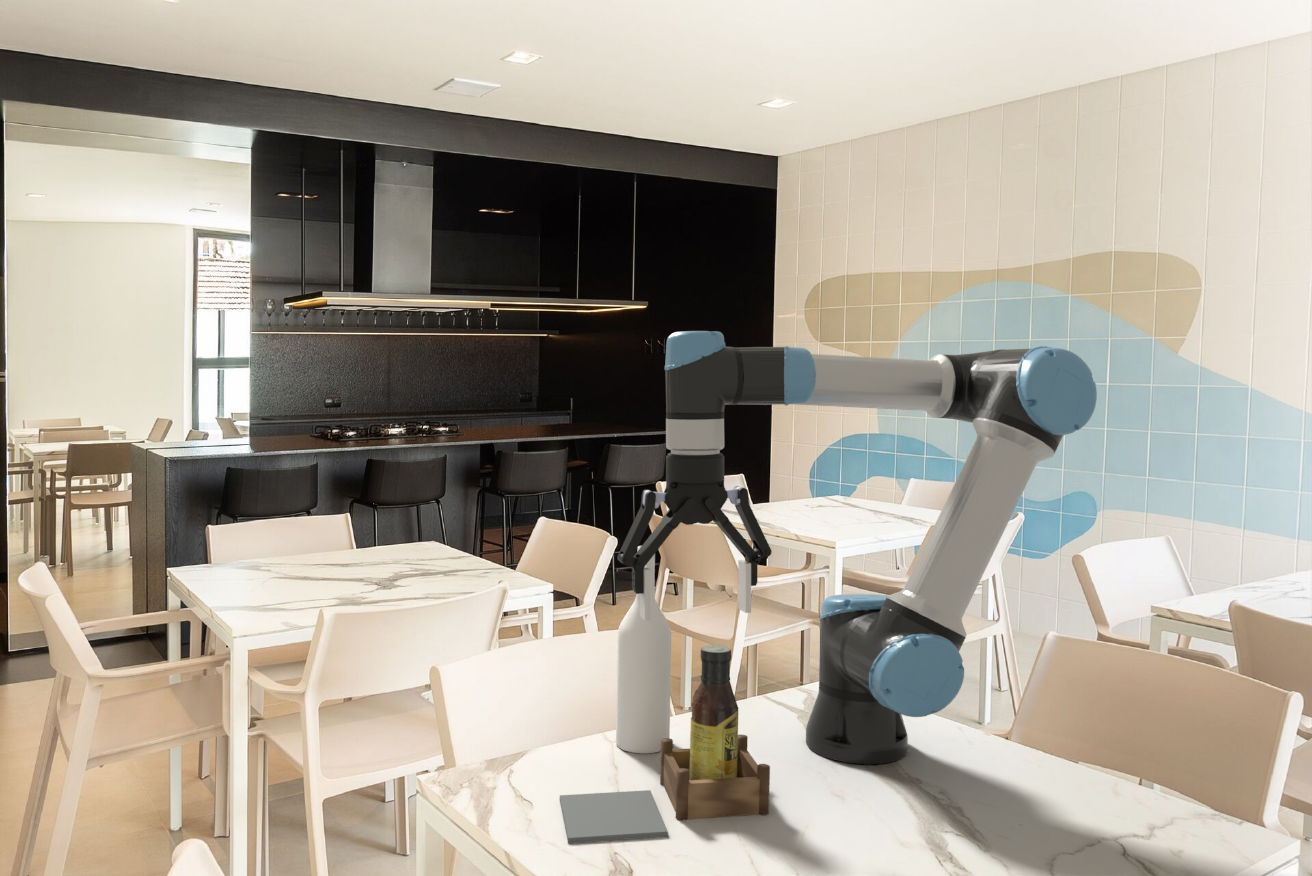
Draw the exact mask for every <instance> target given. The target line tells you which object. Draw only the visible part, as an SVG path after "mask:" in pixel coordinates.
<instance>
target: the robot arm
mask: <svg viewBox="0 0 1312 876" xmlns="http://www.w3.org/2000/svg"><path fill="white" fill-rule="evenodd" d="M665 348H666V349H665V365H664V368H663V369H664V371H665V374H664V375H665V404H666V405H665V406H666V408H665V411H666V412H665V413H666V414H665V442H666V443H665V447H666V449H667V450H670V452H669V453H667V455H665V485H666V486H665V489H664V491H663V492H660V491H652V490H650V489H644V490H643V491H642V493H641V499H640V500H641V501H640V507H639V510H638V511H637V514H636V516H635V518H634V520H633V522H632V524H631V527H630V528H629V530H628V532H627V535H626V537H625V539H624V541H623V544H622V545H621V548H620V549H619V550H620V551H619V552H618V554H617V560H618V561H619V562H620V563H621V564H623V565H624V566H629V567H630V568H631V588H632V591H633V592H634V593H635V595H636V594H640V616H641V617H642V618H643V619H644V620H645V621H648V620H651V570H650V569H649V568H647V567H646V566H645V565H646V564H647V563H648V562H649V560H650V559H651V558H652V556H653V555H654V554H655V555H656V553H657V551H658V550H659V549H660V547H661V546H662V545H663V544H664V542H665V541H666V540H667V539H668V538H669V536H670V535H671V534H672V532H673V531H674V530H675V529H677V527H679V525H680V524H681V523H682V524H683V525H686V526H687V525H689V526H691V525H694V524H698V523H699V524H703V525H709V524H710V523H712V522H713V523H714V524H715V525H716V526H717V527H718V528H719V530H721V532H722V533H723V534H724V535H725V536H726V537H727V539H728V540H729V541H730V542H731V543H732V545H733V546H734V547H735V548H736V549H737V551H739V553H740V554H741V555H742V557H744V559H738V560H737V561H738V563H737V564H738V565H737V567H738V569H737V570H738V573H737V574H738V577H737V578H738V579H737V580H738V583H737V584H738V590H737V592H738V597H737V598H738V599H737V600H738V601H737V602H738V603H737V604H738V607H737V608H738V609H739V610H740V611H741V612H743V613H745V614H751V613H752V587H753V586H755V587H756V586H757V584H758V564H759V563H760V562H761V560H762V559H763V558H769V557H770V556H771V555H772V549H771V547H770V545H769V542H768V540H767V538H766V536H765V535H764V532H763V529H762V528H761V526H760V524H759V522H758V520H757V518H756V516H755V513H754V512H753V509H752V507H751V506H750V498H749V490H748V489H747V488H746V487H742V486H738V485H736V486H734V487H733V488H729V489H726V487H725V456H724V454H723V453H721V452H720V451H721V450H723V449H724V448H725V406H726V405H728V406H736V405H746V406H747V405H749V406H750V405H753V406H755V405H760V406H761V405H763V406H767V405H769V406H770V405H771V406H772V405H784V406H789V405H794V406H795V405H797V406H799V405H800V406H818V407H822V406H823V407H836V408H837V407H838V408H840V407H842V408H859V409H861V408H862V409H878V410H879V409H880V410H882V409H883V410H898V411H899V410H902V411H904V410H905V411H920V412H922V411H923V412H924V411H925V412H926V413H927V415H929V416H930V417H931V418H932V419H933V418H934V419H949V420H956V421H959V422H960V421H961V422H968V423H972V426H973V427H974V428H973V429H974V430H975V432H976V439H975V442H974V443H973V446H972V448H971V449H970V452H969V454H968V456H967V458H966V460H965V461H964V464H963V466H962V468H961V470H960V472H959V474H958V476H957V478H956V481H955V483H954V485H953V486H952V489H951V491H950V493H949V495H948V497H947V499H946V501H945V503H944V505H943V507H942V510H941V512H940V513H939V515H938V518H937V519H936V521H935V524H934V525H933V528H932V530H931V531H930V534H929V536H928V538H927V540H926V542H925V545H924V546H923V548H922V550H921V553H920V554H919V557H918V558H917V560H916V562H915V564H914V567H913V569H912V571H911V573H910V575H909V577H908V579H907V581H906V583H905V585H904V588H903V589H901V590H899V591H898V592H894V593H892V594H888V595H885V594H876V593H874V594H870V593H869V594H868V593H853V594H852V593H848V594H845V593H844V594H833V595H830V596H827V597H825V598H824V600H823V602H822V603H821V609H820V610H821V611H820V616H819V622H820V624H819V625H820V626H819V665H818V666H819V668H818V669H819V670H818V673H819V674H818V675H819V678H818V681H819V682H818V693H817V696H816V699H815V702H814V704H813V707H812V710H811V713H810V715H809V718H808V721H807V723H806V727H805V728H806V729H805V744H806V746H807V747H808V748H809V749H810V750H811V751H812V752H814V753H816V754H818V755H820V756H822V757H825V758H828V759H830V760H835V761H839V762H844V763H851V764H858V765H860V764H861V765H862V764H863V765H877V764H878V765H879V764H887V763H892V762H895V761H898V760H900V759H902V758H904V757H905V756H906V755H907V753H908V742H909V741H908V739H909V737H908V736H909V735H908V732H907V727H906V725H905V722H904V719H903V716H906V717H911V718H922V717H923V718H924V717H927V716H931V715H933V714H937V713H939V712H940V711H942V710H944V709H945V708H946V707H947V706H949V705H950V704H951V703H952V702H953V700H954V699H955V698H956V697H957V695H958V694H959V692H960V690H961V688H962V686H963V683H964V678H965V667H964V665H963V662H964V661H963V658H962V655H961V653H960V651H961V648H962V646H963V644H964V642H965V640H966V638H967V635H968V634H967V632H966V629H965V626H964V624H963V617H964V615H965V614H966V611H967V608H968V607H969V604H970V602H971V601H972V599H973V596H974V595H975V592H976V590H977V589H978V586H979V583H980V581H981V580H982V578H983V576H984V573H985V571H986V569H987V567H988V565H989V563H990V561H991V559H992V556H993V555H994V553H995V551H996V548H997V546H998V544H999V542H1000V540H1001V538H1002V537H1003V534H1004V532H1005V530H1006V527H1008V523H1009V522H1010V520H1011V518H1012V516H1013V514H1014V511H1015V509H1016V507H1017V505H1018V503H1019V501H1020V500H1021V499H1020V498H1021V497H1022V495H1023V493H1024V491H1025V488H1027V487H1026V486H1027V485H1028V482H1029V480H1030V478H1031V476H1032V474H1033V472H1034V470H1035V468H1036V465H1037V464H1038V463H1040V462H1042V461H1044V460H1047V459H1048V460H1049V459H1050V458H1053V457H1054V455H1055V454H1056V452H1057V449H1058V447H1059V445H1060V443H1061V441H1062V439H1063V437H1064V436H1065V435H1070V434H1073V433H1074V432H1076V431H1079V430H1081V429H1082V428H1083V427H1084V426H1085V425H1087V424H1088V422H1089V421H1090V420H1091V418H1092V416H1093V414H1094V412H1095V409H1096V405H1097V404H1096V403H1097V400H1098V399H1097V397H1098V396H1097V395H1098V392H1097V391H1098V390H1097V386H1096V385H1097V384H1096V382H1095V381H1094V378H1093V372H1092V370H1091V368H1090V367H1089V366H1088V364H1087V363H1086V362H1085V361H1084V360H1083V359H1082V358H1081V357H1080V356H1079V355H1077V354H1075V353H1074V352H1073V351H1071V350H1067V349H1066V348H1065V349H1064V348H1059V347H1050V346H1043V345H1041V346H1037V347H1036V346H1035V347H1033V348H1014V349H995V350H988V351H981V352H973V353H964V354H963V353H962V354H943V353H942V354H940V353H939V354H935V355H933V356H932V357H931V358H930V359H928V360H927V359H925V360H923V359H912V358H911V359H907V358H906V359H905V358H892V357H890V358H888V357H874V356H858V355H857V356H856V355H855V356H854V355H853V356H852V355H840V354H839V355H837V354H821V353H819V354H818V353H811V352H810V351H809V350H808V349H807V348H805V347H794V346H793V347H792V346H788V345H786V346H751V347H749V346H748V347H747V346H746V347H735V346H727V345H726V342H725V337H724V334H723V333H722V332H721V331H717V330H715V331H709V330H687V331H686V330H685V331H683V330H682V331H675V332H673V333H671V334H670V335H669V336H667V339H666V345H665ZM728 500H729V501H730V504H732V505H734V507H735V510H736V512H737V514H738V515H739V518H740V520H741V522H742V524H743V525H744V528H745V530H746V532H747V534H748V537H749V539H750V540H751V543H752V544H753V546H754V548H753V547H752V546H751V545H750V543H749V542H748V541H747V539H746V538H745V537H743V535H742V534H741V533H740V531H739V530H738V529H737V527H735V526H734V524H733V523H732V522H731V521H730V519H729V517H728V516H727V515H726V514H725V512H724V511H723V510H722V508H723V506H724V505H725V504H726V502H727V501H728ZM662 502H663V503H664V505H666V507H667V508H668V510H667V511H666V513H664V515H663V517H662V518H661V521H660V523H659V524H657V526H656V527H655V529H654V530H653V531H652V533H651V534H650V535H649V536H648V538H647V539H646V540H645V541H644V542H643V544H642V545H641V546H642V547H641V548H640V549H639V550H638V552H637V549H638V546H640V543H641V541H642V540H643V538H644V535H645V533H646V530H647V528H648V526H649V525H650V522H651V520H652V518H653V515H654V513H655V509H658V508H659V507H660V504H661V503H662ZM902 715H903V716H902Z"/></svg>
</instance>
